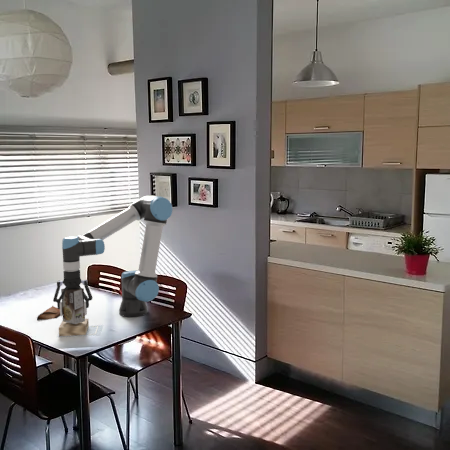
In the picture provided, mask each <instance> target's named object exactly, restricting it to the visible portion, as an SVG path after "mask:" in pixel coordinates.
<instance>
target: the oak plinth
mask: <svg viewBox="0 0 450 450" xmlns="http://www.w3.org/2000/svg"><path fill="white" fill-rule="evenodd" d="M89 326H90V324H89V318H85V321H84V322H81V323H78V324H72V323H68V322H63V320H61V323H60V325H59V327H58V333H59V336H71V337H75V336H74V335H86V332H87V330H88V327H89Z"/></svg>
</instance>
